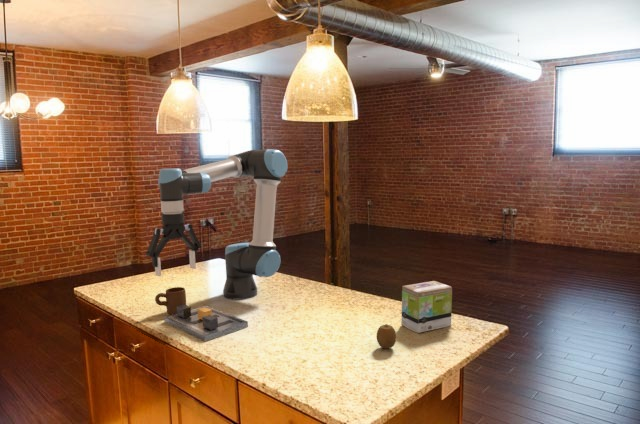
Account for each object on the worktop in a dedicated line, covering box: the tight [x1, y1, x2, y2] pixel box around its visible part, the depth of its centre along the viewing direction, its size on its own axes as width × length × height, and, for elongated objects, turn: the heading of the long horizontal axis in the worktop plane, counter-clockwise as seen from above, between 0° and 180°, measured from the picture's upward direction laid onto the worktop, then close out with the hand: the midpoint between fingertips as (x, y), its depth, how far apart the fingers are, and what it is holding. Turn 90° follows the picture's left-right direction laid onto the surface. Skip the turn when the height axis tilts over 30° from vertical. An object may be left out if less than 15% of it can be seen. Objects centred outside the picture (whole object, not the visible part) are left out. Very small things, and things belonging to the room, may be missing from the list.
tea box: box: [400, 280, 453, 334], centre depth 167 cm, size 15×10×15 cm, turn 117°
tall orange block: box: [197, 307, 212, 320], centre depth 174 cm, size 3×5×4 cm, turn 46°
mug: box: [154, 286, 187, 316], centre depth 187 cm, size 12×8×9 cm, turn 128°
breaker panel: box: [163, 304, 249, 343], centre depth 174 cm, size 18×28×6 cm, turn 46°
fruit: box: [376, 323, 397, 350], centre depth 149 cm, size 6×6×8 cm
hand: (176, 271), depth 168 cm, fingers open, 13 cm apart
